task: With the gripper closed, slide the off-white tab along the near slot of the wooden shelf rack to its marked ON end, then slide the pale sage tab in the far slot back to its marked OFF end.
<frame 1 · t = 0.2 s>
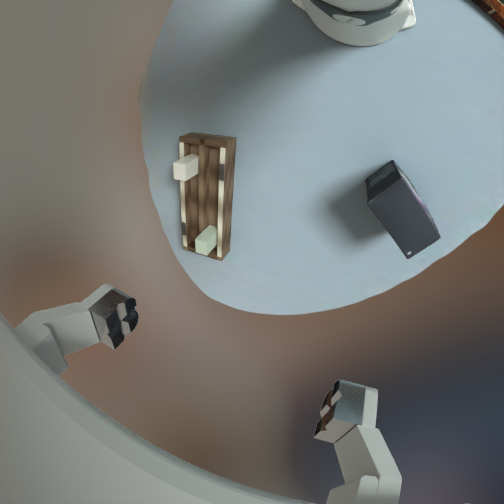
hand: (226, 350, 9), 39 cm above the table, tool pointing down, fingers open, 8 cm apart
sage tab: (208, 239, 52), point 5 cm above the table, slide at 14.0 cm
offwhite block: (188, 166, 45), point 5 cm above the table, slide at 0.0 cm
wooden shelf rack: (211, 194, 52), on the table
small box: (397, 193, 40), on the table
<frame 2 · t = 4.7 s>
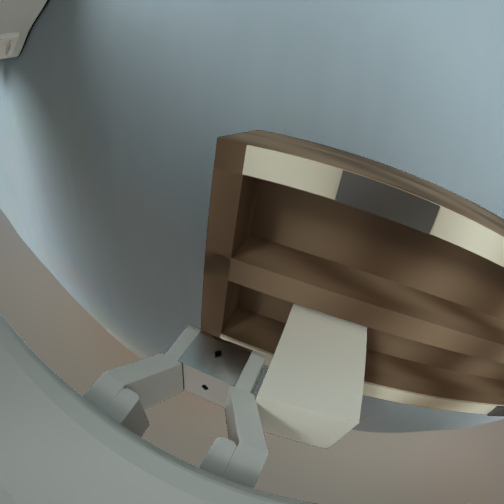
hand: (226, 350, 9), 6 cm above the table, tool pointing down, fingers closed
offwhite block: (315, 361, 9), point 5 cm above the table, slide at 0.0 cm, touching gripper
wooden shelf rack: (461, 293, 11), on the table
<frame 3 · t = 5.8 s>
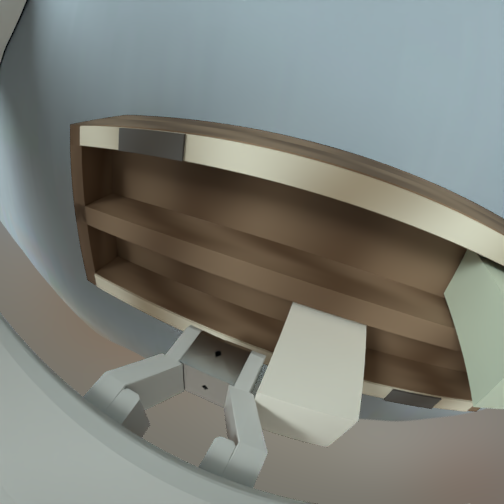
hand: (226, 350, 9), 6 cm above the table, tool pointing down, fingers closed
sage tab: (503, 323, 6), point 5 cm above the table, slide at 14.0 cm
offwhite block: (314, 360, 9), point 5 cm above the table, slide at 7.9 cm, touching gripper
wooden shelf rack: (325, 246, 13), on the table
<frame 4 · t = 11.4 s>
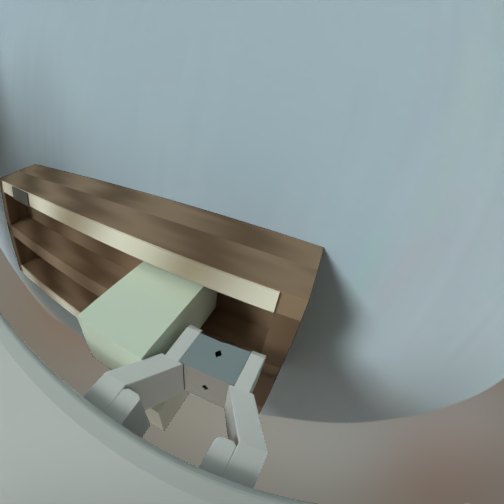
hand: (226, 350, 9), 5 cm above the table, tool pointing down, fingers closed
sage tab: (155, 312, 10), point 5 cm above the table, slide at 13.6 cm, touching gripper
offwhite block: (164, 367, 13), point 5 cm above the table, slide at 13.7 cm
wooden shelf rack: (123, 249, 17), on the table
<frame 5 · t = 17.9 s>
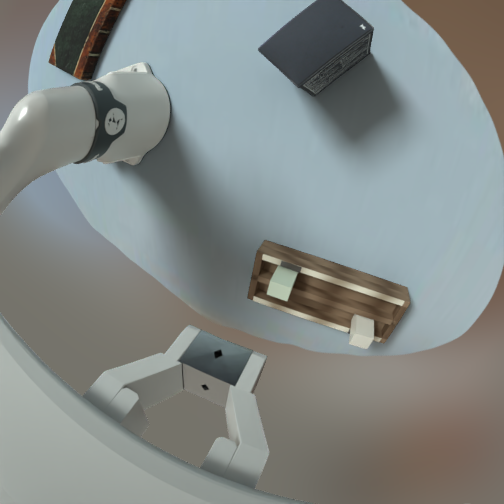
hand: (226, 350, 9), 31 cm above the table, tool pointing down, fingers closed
sage tab: (283, 280, 39), point 5 cm above the table, slide at 0.0 cm
book: (95, 19, 33), on the table
offwhite block: (362, 328, 38), point 5 cm above the table, slide at 13.7 cm
wooden shelf rack: (329, 287, 43), on the table
small box: (325, 57, 28), on the table
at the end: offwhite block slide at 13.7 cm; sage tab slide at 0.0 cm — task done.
